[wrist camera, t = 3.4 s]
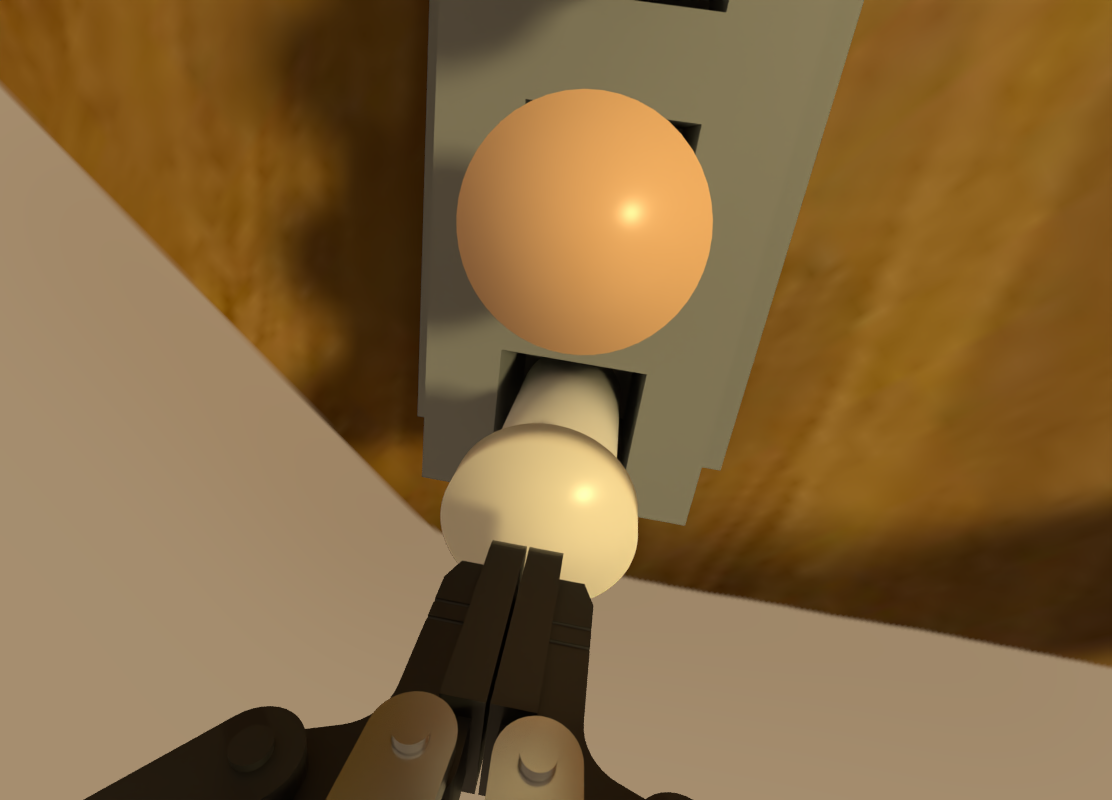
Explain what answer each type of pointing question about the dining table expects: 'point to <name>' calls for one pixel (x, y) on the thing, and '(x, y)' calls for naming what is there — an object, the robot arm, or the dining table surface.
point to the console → (731, 173)
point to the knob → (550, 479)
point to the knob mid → (584, 222)
